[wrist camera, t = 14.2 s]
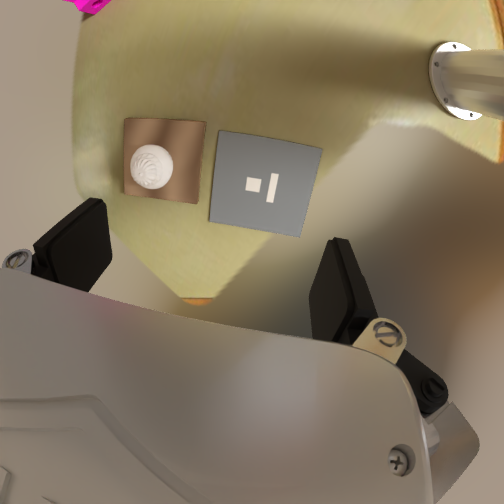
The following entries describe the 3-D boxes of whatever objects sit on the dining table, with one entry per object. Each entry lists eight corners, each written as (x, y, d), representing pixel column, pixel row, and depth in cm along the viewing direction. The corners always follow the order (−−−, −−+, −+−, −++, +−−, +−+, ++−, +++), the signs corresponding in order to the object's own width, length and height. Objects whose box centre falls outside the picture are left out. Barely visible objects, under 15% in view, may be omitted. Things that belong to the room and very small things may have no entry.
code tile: (322, 148, 35) (322, 149, 34) (299, 236, 42) (299, 237, 42) (219, 130, 34) (219, 130, 34) (209, 220, 42) (209, 221, 42)
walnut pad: (206, 121, 34) (203, 122, 33) (198, 201, 40) (196, 204, 39) (128, 117, 34) (124, 118, 33) (127, 191, 40) (124, 194, 39)
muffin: (135, 150, 35) (110, 164, 30) (169, 132, 34) (148, 141, 28) (153, 186, 38) (132, 205, 32) (188, 170, 37) (171, 187, 31)
